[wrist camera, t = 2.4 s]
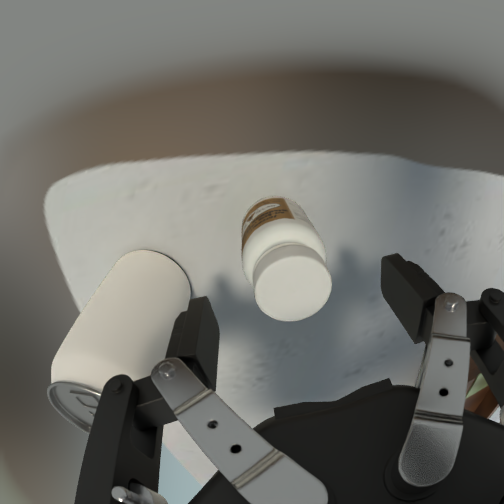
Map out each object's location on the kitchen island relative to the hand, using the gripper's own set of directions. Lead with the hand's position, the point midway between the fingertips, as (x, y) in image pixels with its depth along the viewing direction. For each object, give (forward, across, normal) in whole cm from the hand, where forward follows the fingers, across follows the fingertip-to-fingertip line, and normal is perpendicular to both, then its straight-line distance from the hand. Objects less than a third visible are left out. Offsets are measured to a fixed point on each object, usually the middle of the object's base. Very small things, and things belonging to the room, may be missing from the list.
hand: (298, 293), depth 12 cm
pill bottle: (+8, 0, 0) cm, 8 cm away
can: (+8, +10, +2) cm, 13 cm away
